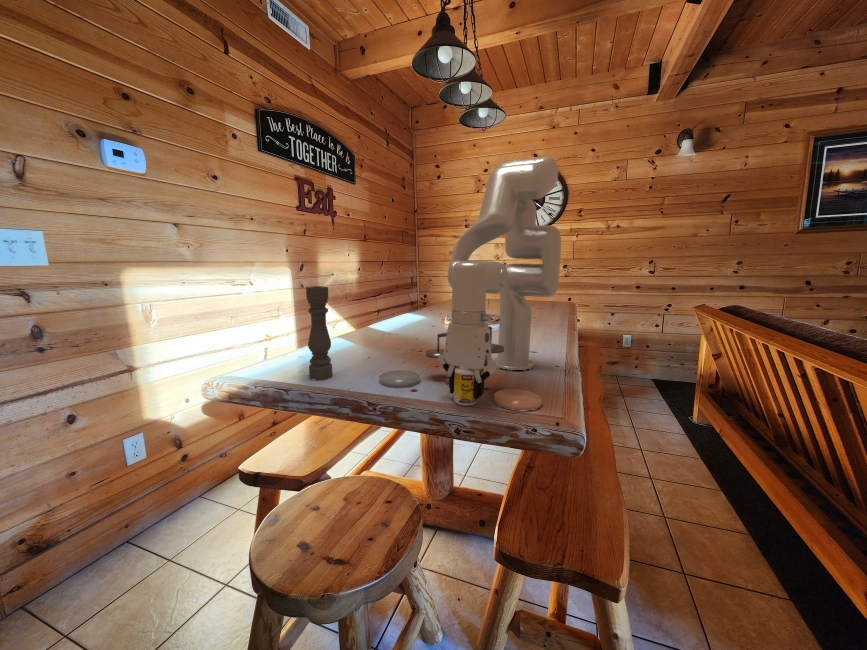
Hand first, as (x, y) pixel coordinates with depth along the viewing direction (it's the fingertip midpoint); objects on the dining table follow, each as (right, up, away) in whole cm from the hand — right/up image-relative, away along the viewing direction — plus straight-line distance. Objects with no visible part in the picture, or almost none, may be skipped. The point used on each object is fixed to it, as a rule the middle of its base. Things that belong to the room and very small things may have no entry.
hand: (465, 393), depth 86 cm
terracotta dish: (+12, -2, +1) cm, 12 cm away
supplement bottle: (0, -2, 0) cm, 2 cm away
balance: (0, 0, +13) cm, 13 cm away
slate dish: (-17, +1, +15) cm, 22 cm away
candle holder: (-39, +1, +17) cm, 43 cm away
